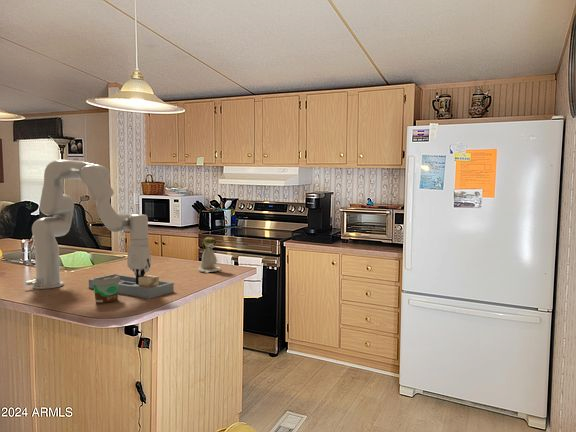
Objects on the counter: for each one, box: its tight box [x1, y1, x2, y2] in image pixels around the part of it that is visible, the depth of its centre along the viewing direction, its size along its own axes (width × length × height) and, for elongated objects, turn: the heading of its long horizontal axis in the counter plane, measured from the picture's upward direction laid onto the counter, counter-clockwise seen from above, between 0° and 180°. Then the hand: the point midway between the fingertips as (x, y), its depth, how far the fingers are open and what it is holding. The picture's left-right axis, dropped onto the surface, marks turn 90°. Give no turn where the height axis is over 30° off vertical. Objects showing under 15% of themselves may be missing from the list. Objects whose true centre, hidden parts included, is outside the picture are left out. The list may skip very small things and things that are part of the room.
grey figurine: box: [198, 236, 222, 274], centre depth 242 cm, size 12×13×18 cm
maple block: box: [138, 274, 160, 288], centre depth 193 cm, size 6×6×5 cm
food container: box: [92, 273, 121, 305], centre depth 179 cm, size 12×6×10 cm, turn 158°
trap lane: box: [88, 273, 175, 300], centre depth 199 cm, size 14×38×4 cm, turn 61°
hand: (140, 284), depth 196 cm, fingers closed
